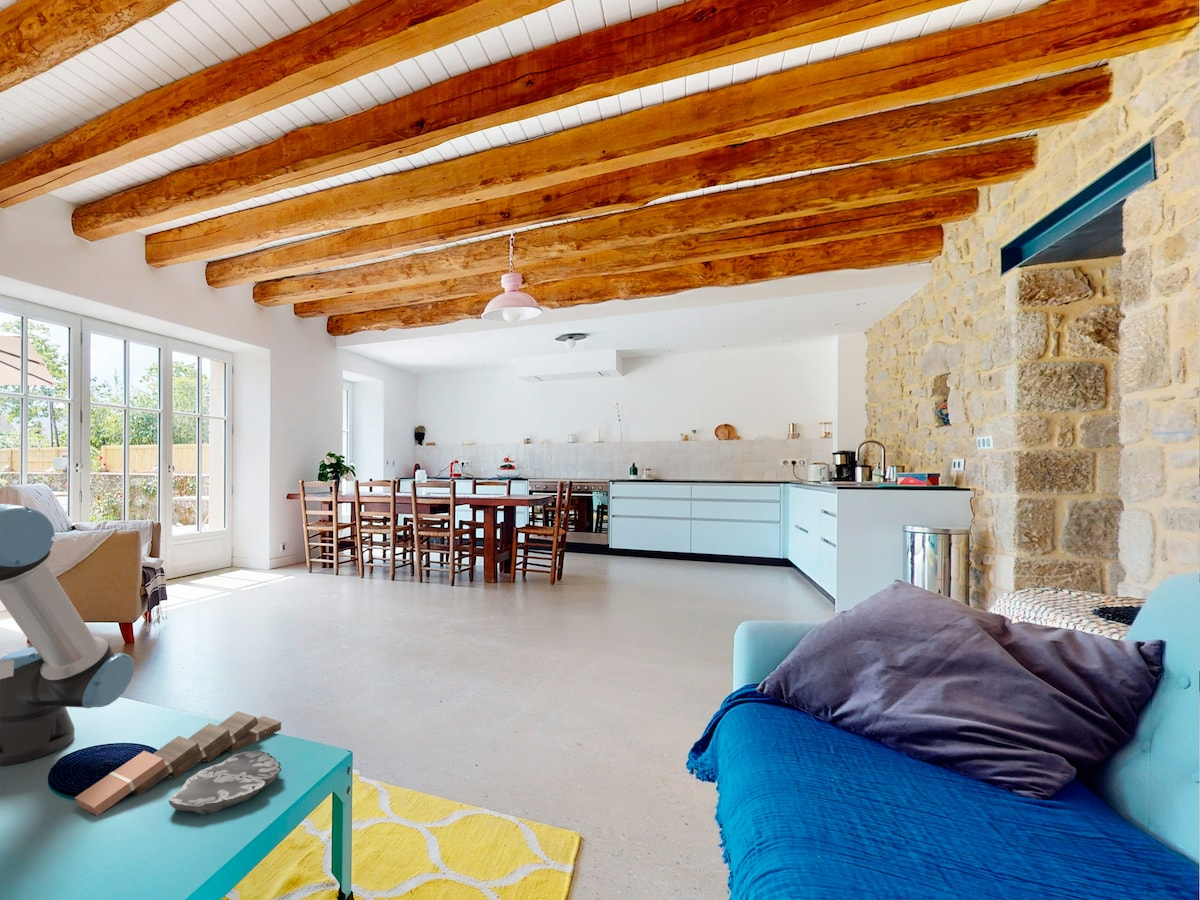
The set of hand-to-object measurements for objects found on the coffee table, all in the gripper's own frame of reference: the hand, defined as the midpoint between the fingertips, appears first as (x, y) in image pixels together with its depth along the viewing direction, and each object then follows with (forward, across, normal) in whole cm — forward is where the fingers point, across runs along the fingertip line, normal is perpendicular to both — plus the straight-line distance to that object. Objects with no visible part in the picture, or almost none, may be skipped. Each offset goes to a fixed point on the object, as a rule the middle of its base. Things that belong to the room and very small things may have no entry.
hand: (11, 667), depth 98 cm
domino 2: (+16, +5, -29) cm, 34 cm away
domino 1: (+10, +5, -29) cm, 31 cm away
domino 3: (+23, +5, -29) cm, 37 cm away
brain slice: (+26, +23, -31) cm, 46 cm away
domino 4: (+30, +5, -29) cm, 42 cm away
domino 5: (+35, +5, -29) cm, 46 cm away
